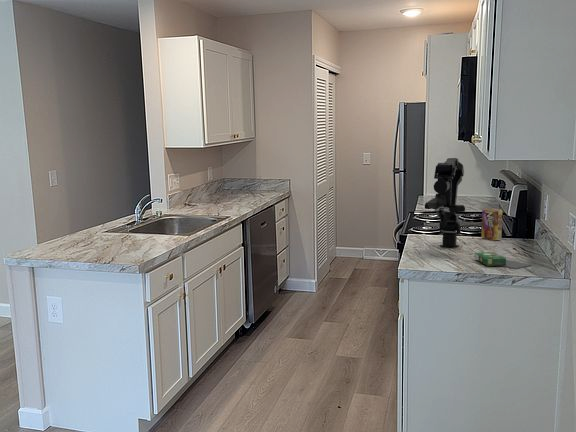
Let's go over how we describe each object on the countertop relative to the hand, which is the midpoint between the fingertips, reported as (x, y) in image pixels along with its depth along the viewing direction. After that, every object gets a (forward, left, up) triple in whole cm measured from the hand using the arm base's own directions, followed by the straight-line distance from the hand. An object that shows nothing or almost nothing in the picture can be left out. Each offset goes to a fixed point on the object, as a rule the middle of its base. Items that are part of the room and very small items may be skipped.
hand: (443, 226), depth 239 cm
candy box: (-44, -4, -12) cm, 46 cm away
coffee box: (-1, +19, -10) cm, 22 cm away
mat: (-1, +31, -12) cm, 33 cm away
